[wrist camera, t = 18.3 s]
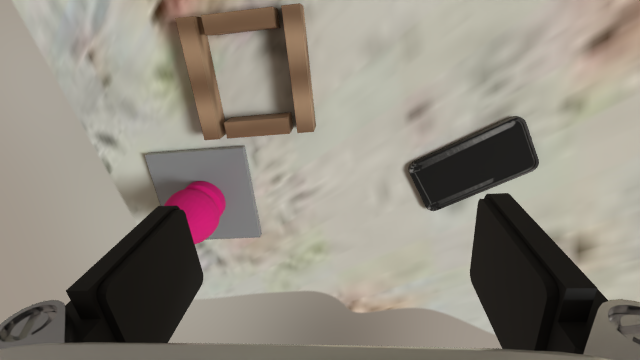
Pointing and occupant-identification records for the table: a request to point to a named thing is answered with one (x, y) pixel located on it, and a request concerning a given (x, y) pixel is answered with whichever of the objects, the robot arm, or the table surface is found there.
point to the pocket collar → (206, 84)
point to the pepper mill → (200, 208)
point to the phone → (475, 164)
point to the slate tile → (222, 171)
